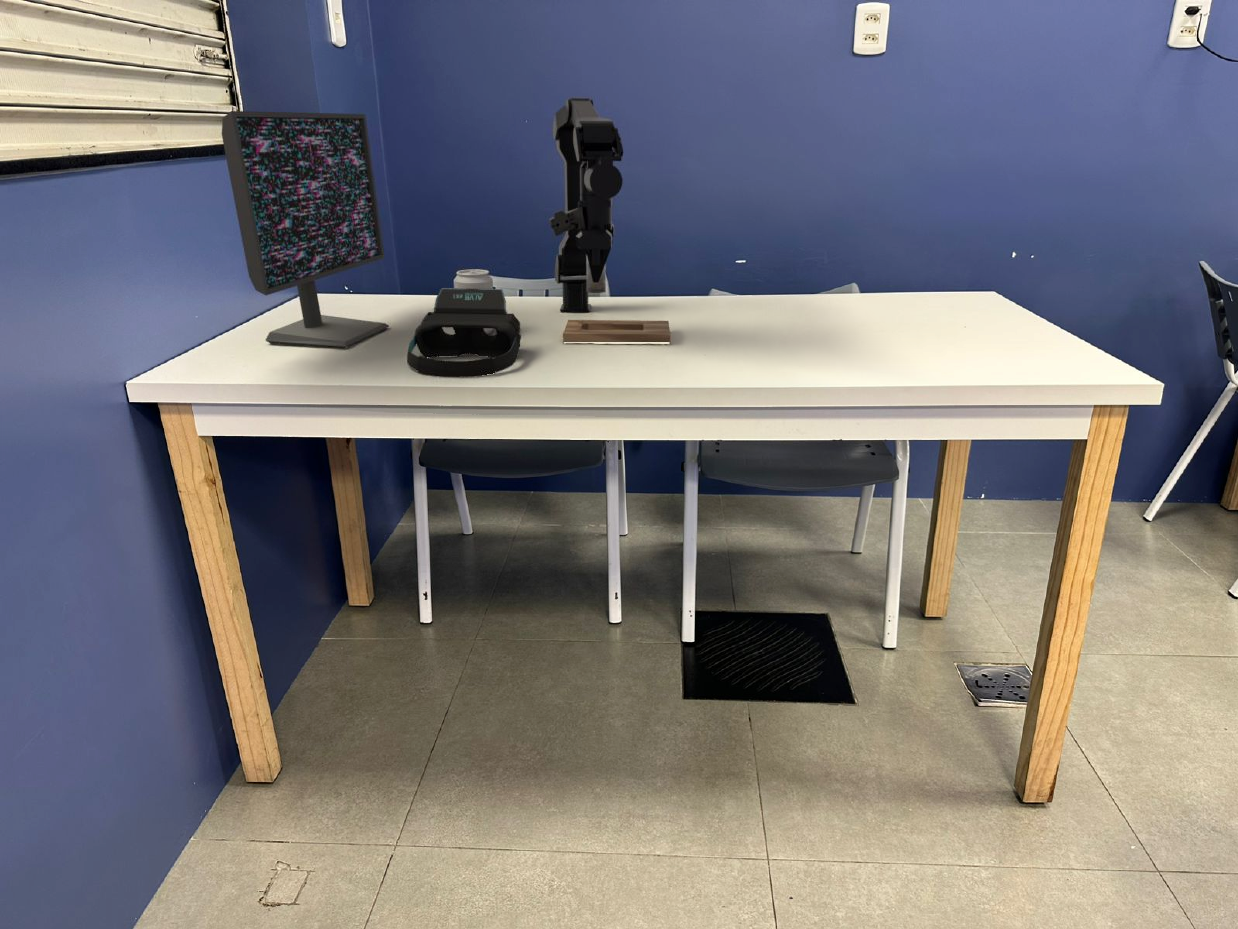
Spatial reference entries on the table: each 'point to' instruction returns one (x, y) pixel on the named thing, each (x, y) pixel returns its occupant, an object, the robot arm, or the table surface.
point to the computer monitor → (304, 211)
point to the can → (474, 282)
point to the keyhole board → (616, 331)
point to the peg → (596, 287)
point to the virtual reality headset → (466, 334)
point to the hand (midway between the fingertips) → (596, 280)
